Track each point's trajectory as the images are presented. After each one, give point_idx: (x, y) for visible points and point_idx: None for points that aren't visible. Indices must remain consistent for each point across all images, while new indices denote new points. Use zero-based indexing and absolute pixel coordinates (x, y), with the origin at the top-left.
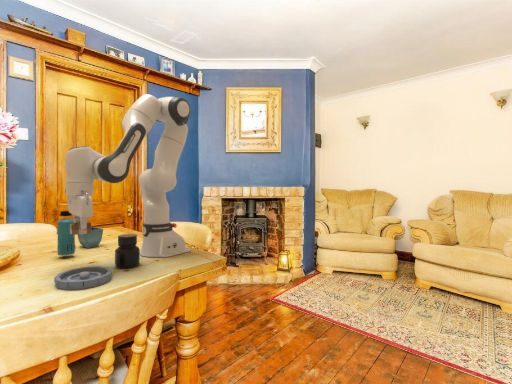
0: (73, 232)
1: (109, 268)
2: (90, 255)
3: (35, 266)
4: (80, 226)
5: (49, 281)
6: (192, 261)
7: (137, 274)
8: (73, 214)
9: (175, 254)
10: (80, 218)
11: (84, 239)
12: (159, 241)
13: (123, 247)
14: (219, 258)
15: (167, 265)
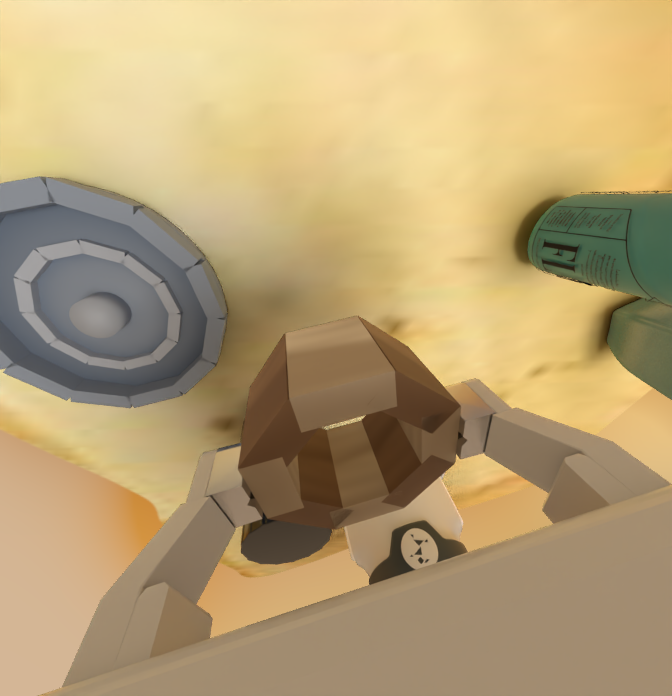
0: (274, 359)
1: (166, 399)
2: (499, 321)
3: (484, 73)
4: (210, 471)
5: (149, 153)
6: None
7: (165, 448)
8: (550, 527)
9: None
10: (127, 625)
11: (663, 315)
12: (351, 539)
13: None
14: (258, 574)
15: None
